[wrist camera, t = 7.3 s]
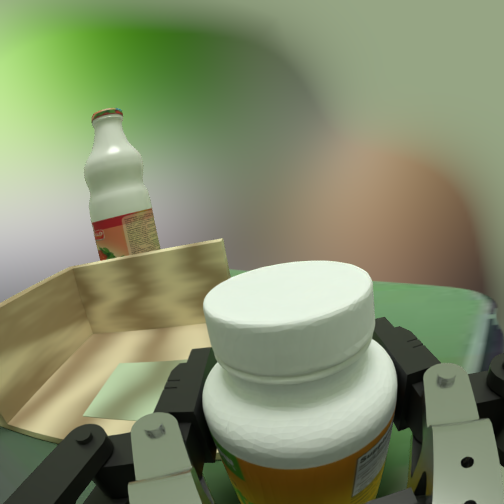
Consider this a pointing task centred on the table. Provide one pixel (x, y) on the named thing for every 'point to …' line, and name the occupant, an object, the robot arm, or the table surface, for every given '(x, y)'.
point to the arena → (103, 339)
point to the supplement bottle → (299, 384)
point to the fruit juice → (118, 191)
